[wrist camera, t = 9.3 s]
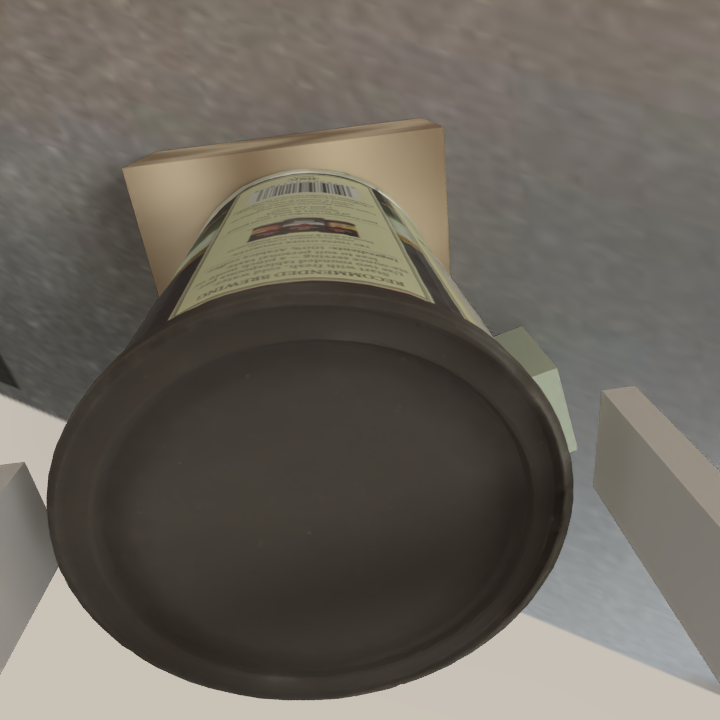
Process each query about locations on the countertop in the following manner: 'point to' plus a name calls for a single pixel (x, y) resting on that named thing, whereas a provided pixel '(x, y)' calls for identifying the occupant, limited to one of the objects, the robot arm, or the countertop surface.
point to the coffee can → (309, 458)
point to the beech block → (277, 154)
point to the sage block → (540, 374)
